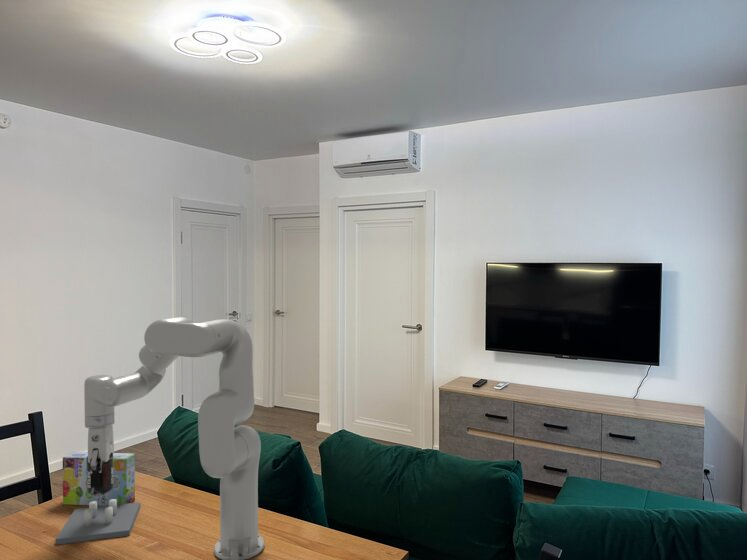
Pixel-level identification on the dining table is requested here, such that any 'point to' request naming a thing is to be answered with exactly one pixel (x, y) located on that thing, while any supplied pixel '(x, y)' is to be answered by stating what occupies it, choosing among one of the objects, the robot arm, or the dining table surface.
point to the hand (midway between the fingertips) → (100, 481)
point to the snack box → (77, 480)
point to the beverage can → (108, 477)
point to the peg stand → (99, 522)
